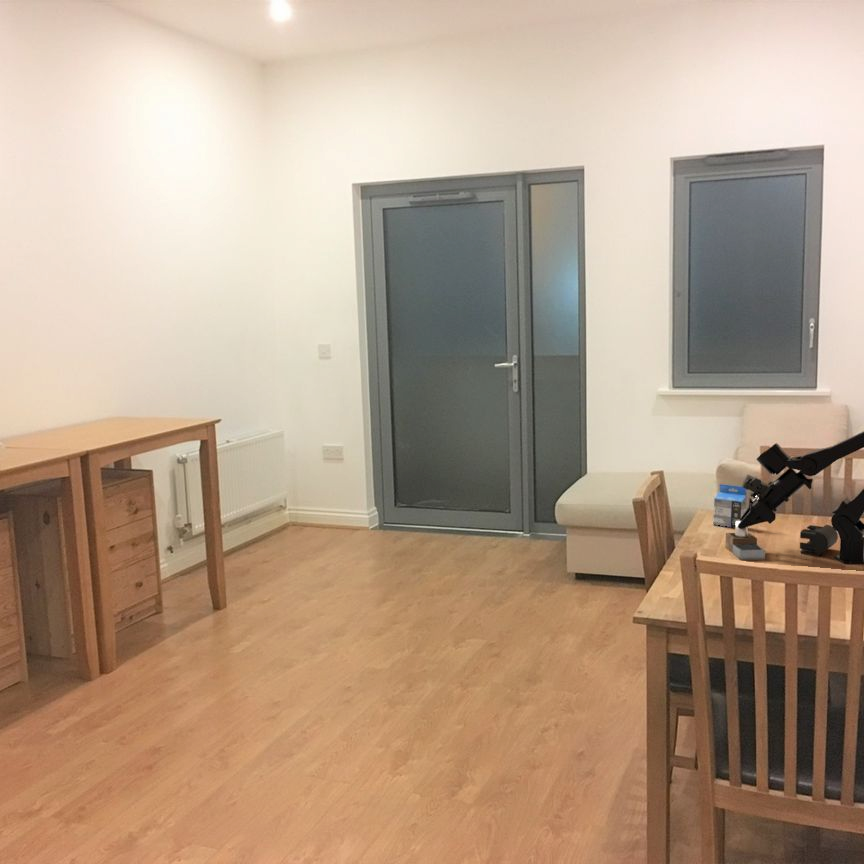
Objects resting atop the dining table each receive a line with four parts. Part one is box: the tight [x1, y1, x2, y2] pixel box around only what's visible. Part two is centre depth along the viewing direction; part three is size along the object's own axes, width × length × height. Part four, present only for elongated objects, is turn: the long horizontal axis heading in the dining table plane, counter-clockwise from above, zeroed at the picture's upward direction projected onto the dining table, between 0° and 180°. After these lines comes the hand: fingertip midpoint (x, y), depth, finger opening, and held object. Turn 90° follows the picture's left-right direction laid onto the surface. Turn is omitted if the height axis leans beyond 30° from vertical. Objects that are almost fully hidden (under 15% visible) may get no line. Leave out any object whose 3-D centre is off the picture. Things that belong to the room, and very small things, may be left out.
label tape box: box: [712, 483, 748, 529], centre depth 276 cm, size 9×4×12 cm, turn 48°
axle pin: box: [734, 520, 749, 538], centre depth 249 cm, size 3×3×8 cm
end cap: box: [799, 524, 839, 557], centre depth 246 cm, size 10×7×7 cm
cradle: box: [732, 543, 766, 561], centre depth 242 cm, size 6×6×2 cm
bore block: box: [725, 532, 758, 554], centre depth 249 cm, size 6×6×4 cm
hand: (738, 526), depth 248 cm, fingers closed on axle pin, 3 cm apart
